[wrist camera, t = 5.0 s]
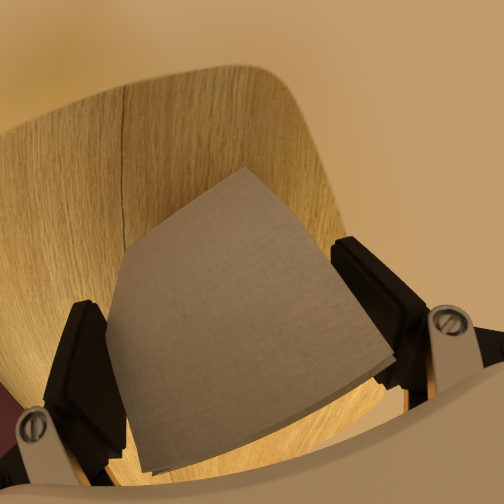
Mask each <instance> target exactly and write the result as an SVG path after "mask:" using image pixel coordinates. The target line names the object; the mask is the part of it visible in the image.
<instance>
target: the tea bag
mask: <svg viewBox="0 0 504 504" xmlns="http://www.w3.org/2000/svg"><path fill="white" fill-rule="evenodd" d="M107 323H108V324H107V329H106V333H105V336H106V344H107V348H108V352H109V356H110V360H111V364H112V368H113V372H114V375H115V379H116V382H117V386H118V389H119V392H120V396H121V399H122V402H123V405H124V408H125V411H126V415H127V418H128V422H129V425H130V429H131V432H132V435H133V438H134V441H135V444H136V448H137V452H138V456H139V461H140V465H141V469H142V473H146V472H152V471H153V472H152V476H155V475H159V474H163V473H166V472H170V471H173V470H177V469H180V468H183V467H186V466H190V465H193V464H196V463H199V462H202V461H205V460H207V459H210V458H213V457H216V456H218V455H221V454H224V453H226V452H229V451H232V450H234V449H237V448H239V447H242V446H244V445H246V444H249V443H251V442H253V441H256V440H258V439H260V438H263V437H265V436H267V435H269V434H271V433H273V432H276V431H278V430H280V429H282V428H284V427H286V426H288V425H290V424H292V423H294V422H296V421H298V420H300V419H302V418H304V417H306V416H308V415H310V414H311V413H313V412H315V411H317V410H319V409H321V408H322V407H324V406H326V405H328V404H329V403H331V402H333V401H335V400H336V399H338V398H340V397H341V396H343V395H345V394H346V393H348V392H350V391H351V390H353V389H355V388H356V387H358V386H359V385H361V384H363V383H364V382H366V381H367V380H369V379H370V378H372V377H373V376H375V375H376V374H378V373H379V372H381V371H382V370H384V369H385V368H387V367H388V366H389V365H391V364H392V363H394V362H395V361H396V359H395V358H394V357H393V355H392V354H394V352H393V350H392V349H391V347H390V346H389V344H388V343H387V342H386V340H385V339H384V337H383V336H382V335H381V333H380V332H379V330H378V329H377V328H376V326H375V325H374V323H373V322H372V321H371V319H370V318H369V316H368V315H367V313H366V312H365V310H364V309H363V308H362V306H361V305H360V303H359V302H358V301H357V299H356V298H355V296H354V295H353V294H352V292H351V291H350V289H349V288H348V287H347V285H346V284H345V282H344V281H343V279H342V278H341V277H340V275H339V274H338V272H337V271H336V270H335V268H334V267H333V266H332V264H331V263H330V261H329V260H328V259H327V257H326V256H325V254H324V253H323V252H322V250H321V249H320V248H319V246H318V245H317V244H316V242H315V241H314V240H313V238H312V237H311V236H310V234H309V233H308V232H307V230H306V229H305V228H304V226H303V225H302V224H301V222H300V221H299V220H298V218H297V217H296V216H295V214H294V213H293V212H292V211H291V210H290V209H289V208H288V207H287V206H286V205H285V204H284V203H283V202H282V201H281V200H280V199H279V198H278V197H277V196H276V195H275V194H274V193H273V192H272V191H271V190H270V189H269V188H268V187H267V186H266V185H265V184H264V183H263V182H262V181H261V180H260V179H259V178H258V177H257V176H256V175H255V174H253V173H252V172H251V171H250V170H249V169H248V168H247V167H246V166H244V167H242V168H241V169H239V170H237V171H236V172H234V173H233V174H231V175H230V176H228V177H227V178H225V179H224V180H222V181H221V182H219V183H218V184H216V185H215V186H213V187H212V188H210V189H209V190H207V191H206V192H204V193H203V194H201V195H200V196H198V197H197V198H195V199H194V200H192V201H191V202H190V203H188V204H187V205H185V206H184V207H182V208H181V209H180V210H178V211H177V212H175V213H174V214H172V215H171V216H170V217H168V218H167V219H165V220H164V221H163V222H161V223H160V224H159V225H157V226H156V227H154V228H153V229H152V230H150V231H149V232H148V233H146V234H145V235H144V236H142V237H141V238H140V239H138V240H137V241H136V242H134V243H133V244H132V245H130V246H129V247H128V248H127V249H126V250H125V253H124V257H123V260H122V264H121V268H120V271H119V275H118V279H117V283H116V286H115V290H114V294H113V298H112V303H111V307H110V311H109V316H108V320H107Z"/></svg>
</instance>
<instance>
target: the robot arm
mask: <svg viewBox="0 0 504 504" xmlns="http://www.w3.org/2000/svg"><path fill="white" fill-rule="evenodd" d="M331 264H332V266H333V267H334V268H335V270H336V271H337V272H338V274H339V275H340V277H341V278H342V279H343V281H344V282H345V284H346V285H347V287H348V288H349V289H350V291H351V292H352V294H353V295H354V296H355V298H356V299H357V301H358V302H359V303H360V305H361V306H362V308H363V309H364V310H365V312H366V313H367V315H368V316H369V318H370V319H371V321H372V322H373V323H374V325H375V326H376V328H377V329H378V330H379V332H380V333H381V335H382V336H383V337H384V339H385V340H386V342H387V343H388V344H389V346H390V347H391V349H392V350H393V352H394V354H392V355H393V357H394V358H395V359H396V361H395V362H394V363H392V364H391V365H389V366H388V367H387V368H385V369H384V370H382V371H381V372H379V373H378V374H376V375H375V376H373V377H374V379H375V380H376V382H377V383H378V384H382V383H383V385H384V386H385V388H386V390H389V389H391V388H393V387H395V386H397V385H400V386H401V388H402V389H404V413H403V414H402V415H400V416H398V417H396V418H394V419H392V420H390V421H388V422H386V423H384V424H381V425H379V426H377V427H375V428H373V429H370V430H368V431H366V432H364V433H361V434H359V435H357V436H355V437H352V438H349V439H347V440H344V441H342V442H340V443H337V444H334V445H332V446H329V447H326V448H324V449H321V450H318V451H315V452H312V453H309V454H306V455H303V456H300V457H297V458H293V459H290V460H287V461H283V462H280V463H276V464H273V465H269V466H265V467H261V468H257V469H253V470H249V471H244V472H240V473H235V474H230V475H225V476H219V477H214V478H208V479H201V480H194V481H187V482H179V483H169V484H158V485H143V486H121V485H120V484H119V482H118V481H117V479H116V478H115V476H114V475H113V473H112V471H111V470H110V468H109V467H108V464H109V459H116V458H122V449H125V448H126V420H127V415H126V411H125V408H124V405H123V402H122V399H121V396H120V392H119V389H118V386H117V382H116V379H115V375H114V372H113V368H112V364H111V360H110V356H109V352H108V348H107V344H106V336H105V333H106V329H107V324H108V323H107V322H106V320H105V318H104V316H103V314H102V312H101V310H100V308H99V306H98V305H97V304H96V303H92V301H91V300H85V301H81V302H76V303H74V304H73V306H72V309H71V311H70V314H69V317H68V319H67V322H66V325H65V328H64V330H63V333H62V336H61V339H60V342H59V345H58V348H57V351H56V354H55V358H54V361H53V364H52V368H51V371H50V375H49V378H48V382H47V385H46V389H45V393H44V397H43V400H44V401H45V405H44V407H40V406H34V407H31V408H29V409H27V410H26V411H25V412H23V413H22V415H21V416H20V417H19V419H18V421H17V424H16V429H15V432H16V439H17V443H16V444H15V445H14V446H13V447H12V448H11V449H10V450H9V451H7V452H6V453H5V454H4V455H3V456H2V457H1V458H0V504H504V332H500V331H494V330H489V329H483V328H478V327H473V323H472V321H471V319H470V317H469V315H468V314H467V313H466V312H465V311H463V310H462V309H460V308H458V307H456V306H453V305H439V306H437V307H434V308H433V309H432V310H431V311H430V310H429V309H428V308H427V307H426V303H425V302H424V301H423V300H422V299H421V298H420V297H419V296H418V295H417V294H416V293H415V292H414V291H412V290H411V289H410V288H409V287H408V286H407V285H406V284H405V283H404V282H403V281H402V280H401V279H400V278H399V277H398V276H397V275H396V274H394V273H393V272H392V271H391V270H390V269H389V268H388V267H387V266H385V264H383V263H382V262H381V261H380V260H379V259H378V258H377V257H376V256H375V255H373V254H372V253H371V252H370V251H369V250H368V249H367V248H366V247H364V246H363V245H362V244H361V243H360V242H359V241H357V240H356V239H355V238H354V237H353V236H349V237H345V238H341V239H337V240H336V241H335V245H332V246H331Z"/></svg>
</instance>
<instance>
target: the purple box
mask: <svg viewBox="0 0 504 504" xmlns="http://www.w3.org/2000/svg"><path fill="white" fill-rule="evenodd" d="M23 412H25V410H24V409H23V408H22V407H21V406H20V405H19V404H18V402H17V401H16V400H15V399H14V398H13V397H12V396H11V395H10V394H9V392H8V391H7V390H6V389H5V388H4V387H3V385H2V384H1V383H0V458H1V457H2V456H3V455H4V454H5V453H6V452H7V451H9V450H10V449H11V448H12V447H13V446H14V445H15V444H16V443H17V439H16V432H15V429H16V424H17V421H18V419H19V417H20V416H21V415H22V413H23Z"/></svg>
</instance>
